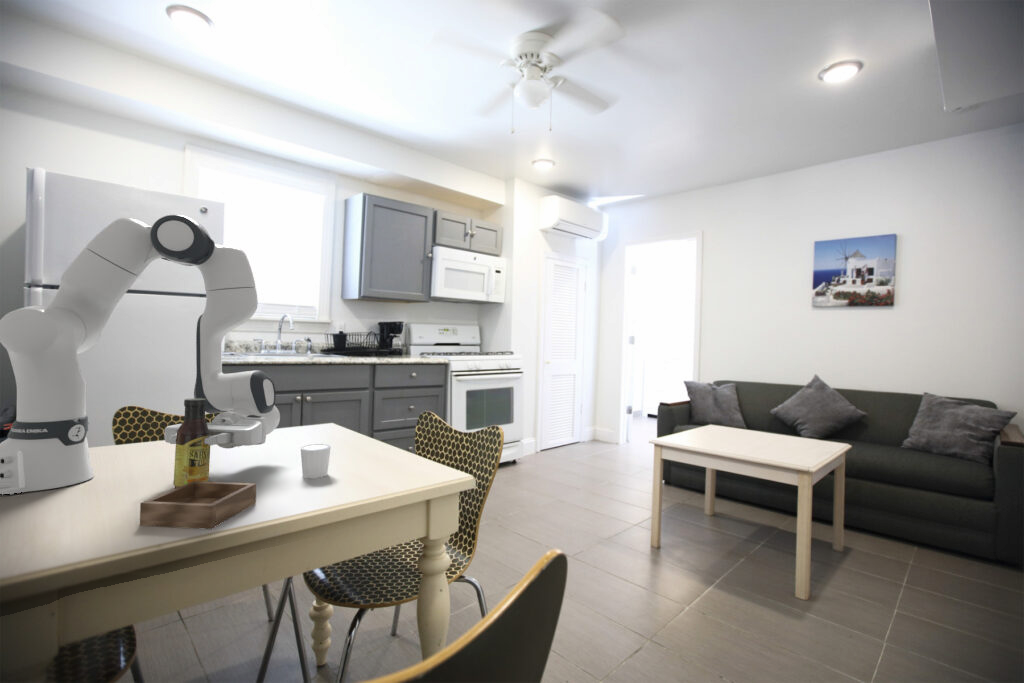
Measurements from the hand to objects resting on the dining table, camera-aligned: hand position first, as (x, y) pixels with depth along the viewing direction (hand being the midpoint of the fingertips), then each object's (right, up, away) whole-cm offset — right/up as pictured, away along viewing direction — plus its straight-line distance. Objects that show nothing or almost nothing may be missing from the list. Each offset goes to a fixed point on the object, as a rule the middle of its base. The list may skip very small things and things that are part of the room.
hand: (190, 440), depth 100 cm
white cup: (+20, -12, +15) cm, 28 cm away
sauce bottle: (0, -11, +1) cm, 11 cm away
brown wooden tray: (+10, -11, -12) cm, 19 cm away
